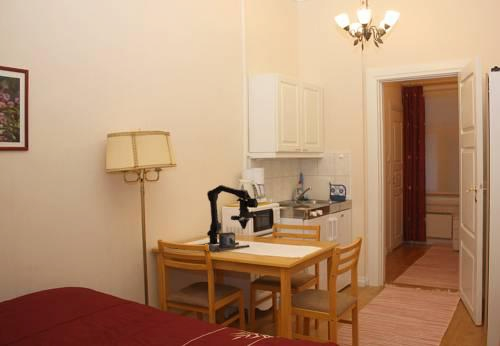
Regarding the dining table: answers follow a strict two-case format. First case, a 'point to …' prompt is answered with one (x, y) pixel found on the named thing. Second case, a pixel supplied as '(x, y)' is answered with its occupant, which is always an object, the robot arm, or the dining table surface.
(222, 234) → the small box
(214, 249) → the guide channel
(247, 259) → the dining table surface
